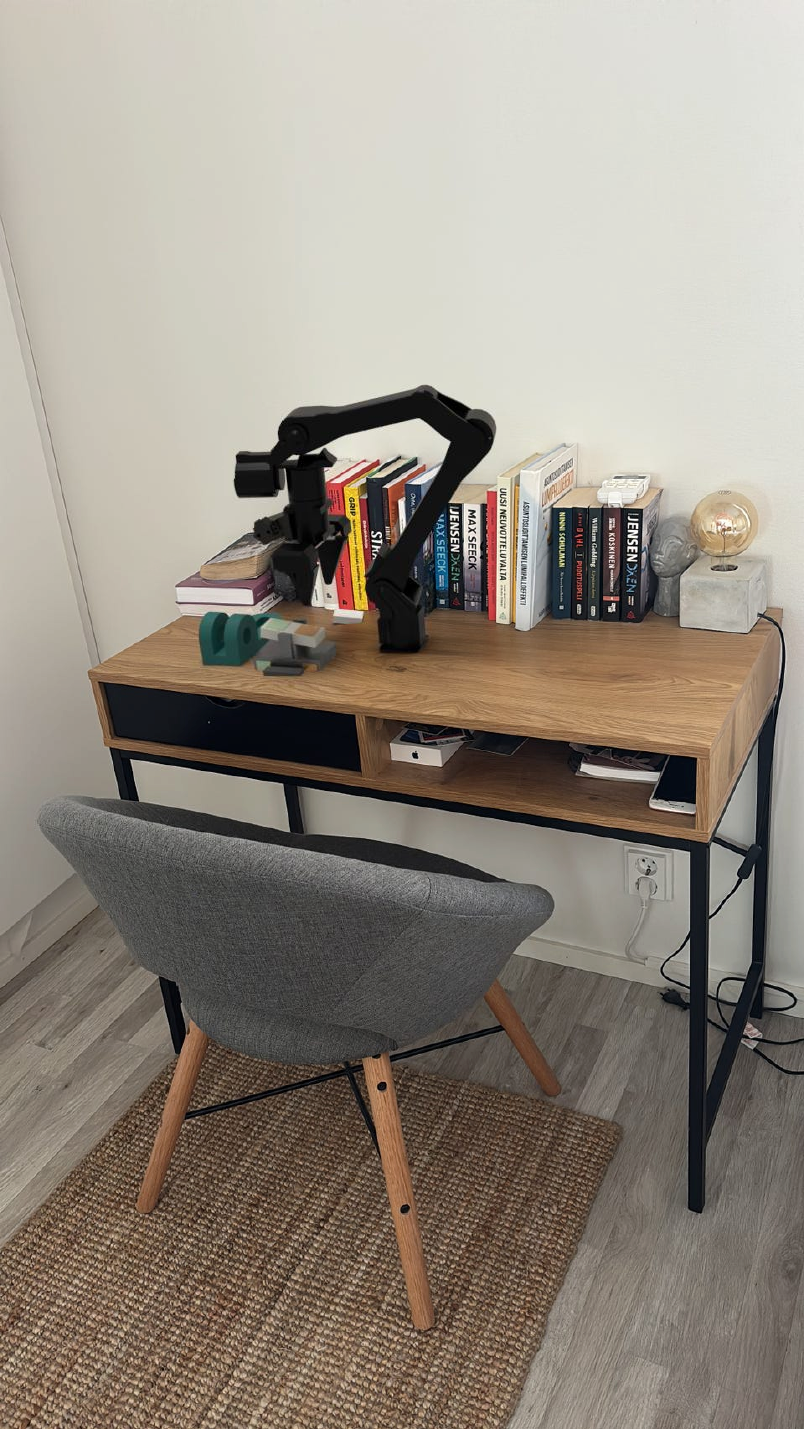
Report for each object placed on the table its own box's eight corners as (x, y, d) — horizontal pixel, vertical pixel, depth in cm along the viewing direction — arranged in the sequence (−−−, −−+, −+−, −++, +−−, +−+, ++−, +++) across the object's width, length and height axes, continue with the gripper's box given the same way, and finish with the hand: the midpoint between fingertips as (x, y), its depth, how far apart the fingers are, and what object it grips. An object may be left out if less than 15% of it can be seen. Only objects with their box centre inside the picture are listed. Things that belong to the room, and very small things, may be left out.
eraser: (362, 618, 193) (363, 611, 196) (333, 615, 193) (335, 608, 196) (361, 625, 193) (363, 618, 196) (332, 622, 193) (334, 615, 196)
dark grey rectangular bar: (305, 679, 176) (303, 668, 175) (300, 684, 174) (299, 673, 173) (268, 676, 177) (267, 666, 177) (264, 681, 176) (262, 671, 175)
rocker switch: (325, 636, 179) (325, 626, 178) (314, 648, 175) (314, 638, 174) (271, 626, 181) (271, 616, 180) (259, 638, 177) (259, 627, 176)
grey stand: (337, 659, 181) (333, 619, 178) (321, 679, 175) (316, 638, 172) (273, 655, 184) (268, 616, 181) (255, 674, 178) (249, 634, 175)
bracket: (241, 670, 181) (234, 624, 177) (203, 667, 183) (195, 621, 179) (290, 626, 196) (285, 583, 192) (254, 624, 198) (248, 580, 194)
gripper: (281, 477, 182) (292, 571, 189) (231, 513, 166) (245, 614, 173) (348, 479, 178) (356, 574, 185) (303, 515, 163) (314, 618, 170)
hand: (317, 594), depth 178 cm, fingers open, 9 cm apart
